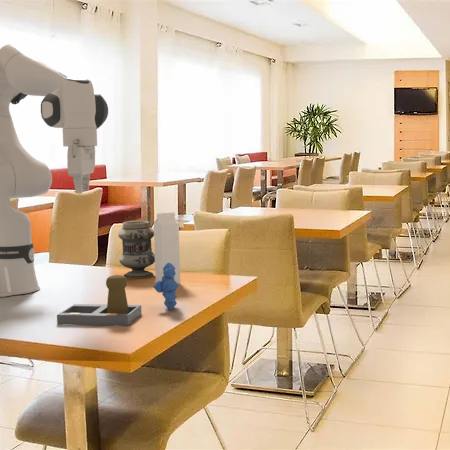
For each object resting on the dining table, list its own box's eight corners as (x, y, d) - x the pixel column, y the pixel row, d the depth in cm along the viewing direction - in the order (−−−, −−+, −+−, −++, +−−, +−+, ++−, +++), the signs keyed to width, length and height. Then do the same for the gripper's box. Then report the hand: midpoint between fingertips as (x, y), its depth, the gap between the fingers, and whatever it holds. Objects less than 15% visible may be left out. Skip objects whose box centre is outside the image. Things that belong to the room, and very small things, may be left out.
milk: (155, 282, 235) (152, 212, 233) (173, 280, 238) (170, 211, 236) (162, 286, 230) (159, 214, 227) (181, 283, 233) (178, 212, 230)
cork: (128, 321, 186) (126, 277, 185) (103, 321, 186) (102, 278, 185) (131, 315, 192) (129, 273, 191) (108, 316, 192) (106, 273, 191)
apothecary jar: (137, 271, 256) (135, 219, 254) (164, 274, 249) (162, 220, 247) (112, 277, 247) (109, 222, 244) (139, 280, 240) (137, 224, 237)
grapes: (154, 304, 205) (152, 260, 203) (178, 303, 205) (177, 259, 204) (154, 313, 193) (152, 267, 192) (180, 312, 194) (179, 266, 193)
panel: (57, 324, 185) (56, 314, 184) (74, 313, 196) (74, 303, 196) (128, 325, 182) (127, 315, 181) (141, 314, 193) (141, 304, 193)
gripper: (85, 139, 187) (87, 194, 189) (98, 139, 208) (100, 189, 209) (60, 139, 187) (62, 195, 189) (75, 139, 208) (77, 189, 209)
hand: (82, 192), depth 199 cm, fingers open, 8 cm apart
